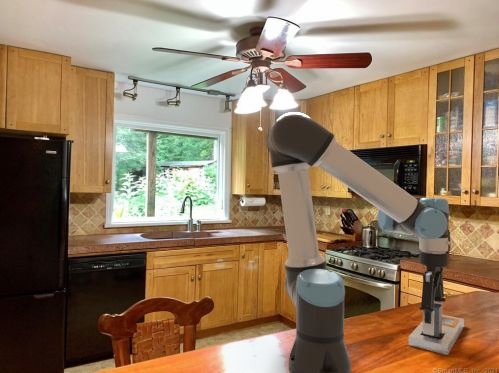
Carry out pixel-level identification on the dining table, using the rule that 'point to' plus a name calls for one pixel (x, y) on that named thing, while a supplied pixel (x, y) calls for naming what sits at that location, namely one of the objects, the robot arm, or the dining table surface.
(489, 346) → the dining table surface
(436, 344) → the grey peg hole board
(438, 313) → the steel peg
